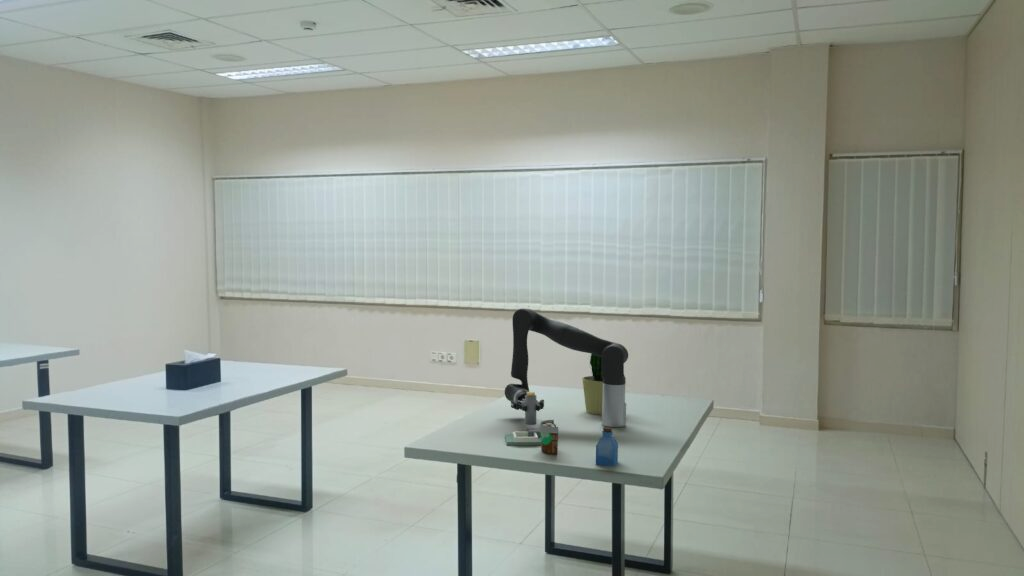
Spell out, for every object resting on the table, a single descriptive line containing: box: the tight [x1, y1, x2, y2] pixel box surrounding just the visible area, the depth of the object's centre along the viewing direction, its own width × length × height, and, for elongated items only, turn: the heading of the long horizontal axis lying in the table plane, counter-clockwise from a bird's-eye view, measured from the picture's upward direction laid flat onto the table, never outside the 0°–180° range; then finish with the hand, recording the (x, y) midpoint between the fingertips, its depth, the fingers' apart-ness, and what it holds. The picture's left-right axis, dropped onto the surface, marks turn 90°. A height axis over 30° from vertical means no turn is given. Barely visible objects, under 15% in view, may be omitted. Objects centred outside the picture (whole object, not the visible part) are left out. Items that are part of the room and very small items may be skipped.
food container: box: [538, 419, 559, 456], centre depth 261 cm, size 12×6×10 cm, turn 5°
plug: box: [524, 391, 537, 426], centre depth 285 cm, size 4×4×12 cm
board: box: [504, 428, 541, 446], centre depth 274 cm, size 14×12×3 cm
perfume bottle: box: [595, 426, 619, 467], centre depth 247 cm, size 6×6×12 cm
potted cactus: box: [582, 353, 603, 415], centre depth 326 cm, size 15×15×30 cm
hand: (532, 408), depth 282 cm, fingers closed on plug, 4 cm apart
